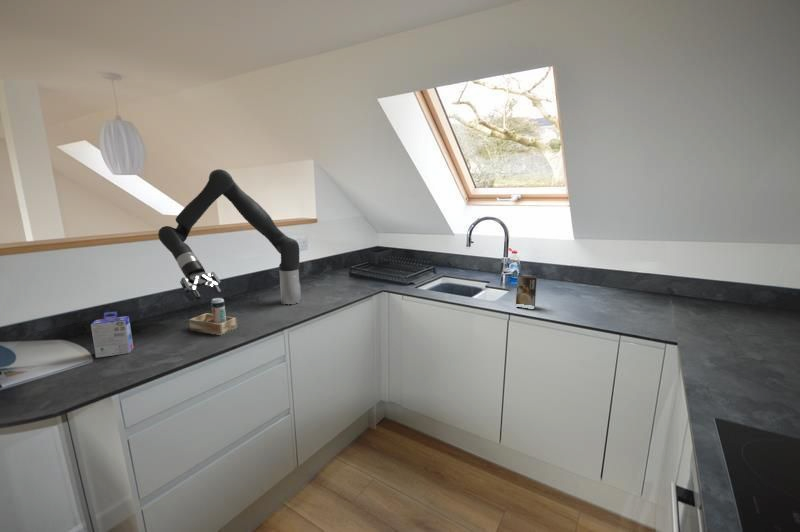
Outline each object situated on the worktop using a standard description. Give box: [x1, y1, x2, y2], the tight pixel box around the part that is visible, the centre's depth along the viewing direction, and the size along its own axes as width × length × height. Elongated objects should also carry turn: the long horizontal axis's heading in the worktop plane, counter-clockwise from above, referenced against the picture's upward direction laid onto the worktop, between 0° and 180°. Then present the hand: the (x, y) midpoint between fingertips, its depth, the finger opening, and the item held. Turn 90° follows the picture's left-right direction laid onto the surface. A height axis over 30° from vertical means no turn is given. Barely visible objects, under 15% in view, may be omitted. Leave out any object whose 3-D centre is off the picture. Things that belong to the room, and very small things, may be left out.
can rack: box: [188, 312, 238, 336], centre depth 150 cm, size 9×16×4 cm, turn 70°
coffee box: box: [515, 273, 538, 307], centre depth 181 cm, size 9×6×16 cm
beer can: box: [210, 297, 227, 324], centre depth 148 cm, size 5×5×12 cm
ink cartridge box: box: [90, 310, 134, 358], centre depth 127 cm, size 10×6×14 cm, turn 115°
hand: (209, 296), depth 150 cm, fingers open, 8 cm apart
